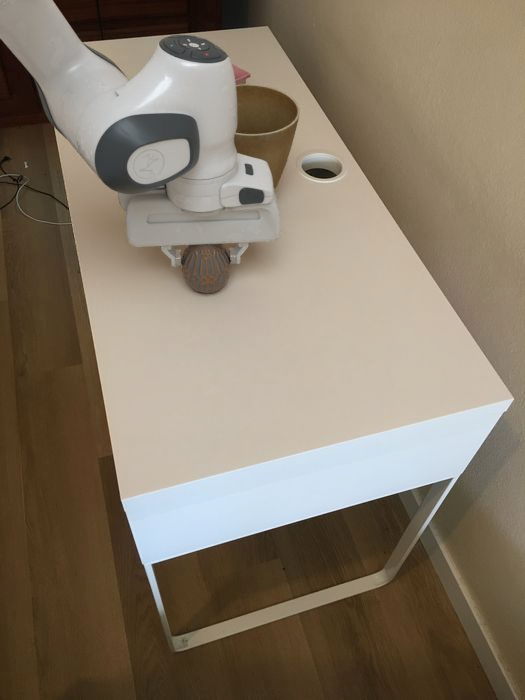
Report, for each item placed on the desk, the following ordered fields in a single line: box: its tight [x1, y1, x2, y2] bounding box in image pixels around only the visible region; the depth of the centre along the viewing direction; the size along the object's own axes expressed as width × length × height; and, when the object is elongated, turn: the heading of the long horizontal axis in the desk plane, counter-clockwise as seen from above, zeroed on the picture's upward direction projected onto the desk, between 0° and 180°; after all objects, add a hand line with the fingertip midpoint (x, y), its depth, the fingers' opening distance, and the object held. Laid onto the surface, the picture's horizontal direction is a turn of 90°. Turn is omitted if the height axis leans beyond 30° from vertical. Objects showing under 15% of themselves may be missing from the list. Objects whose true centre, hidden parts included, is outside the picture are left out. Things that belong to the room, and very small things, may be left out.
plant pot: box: [234, 83, 301, 190], centre depth 91 cm, size 15×15×16 cm
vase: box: [181, 244, 232, 294], centre depth 81 cm, size 7×7×9 cm
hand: (206, 262), depth 81 cm, fingers closed on vase, 7 cm apart
